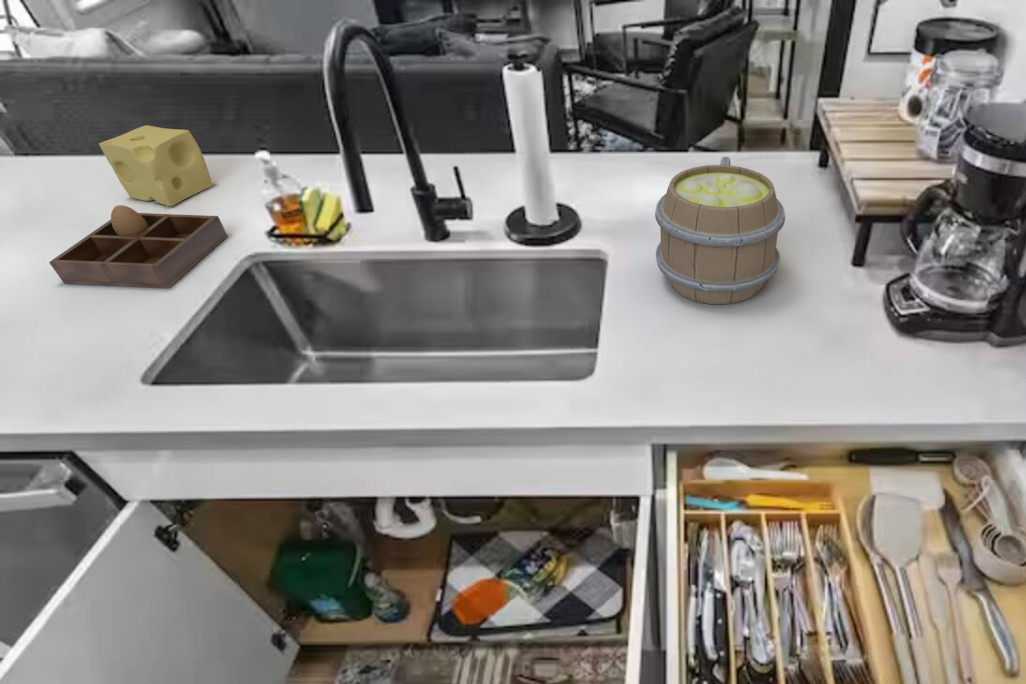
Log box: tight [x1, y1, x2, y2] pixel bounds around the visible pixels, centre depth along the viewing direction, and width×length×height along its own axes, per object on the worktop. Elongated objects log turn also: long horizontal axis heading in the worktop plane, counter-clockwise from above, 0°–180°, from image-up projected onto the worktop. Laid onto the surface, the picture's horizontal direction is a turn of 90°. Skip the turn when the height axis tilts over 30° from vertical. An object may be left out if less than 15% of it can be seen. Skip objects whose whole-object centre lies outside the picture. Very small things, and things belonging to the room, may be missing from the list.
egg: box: [110, 204, 149, 237], centre depth 106 cm, size 4×4×6 cm
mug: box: [654, 156, 786, 306], centre depth 100 cm, size 19×25×15 cm
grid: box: [49, 212, 229, 289], centre depth 105 cm, size 16×16×4 cm
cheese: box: [98, 124, 214, 207], centre depth 120 cm, size 10×11×10 cm
